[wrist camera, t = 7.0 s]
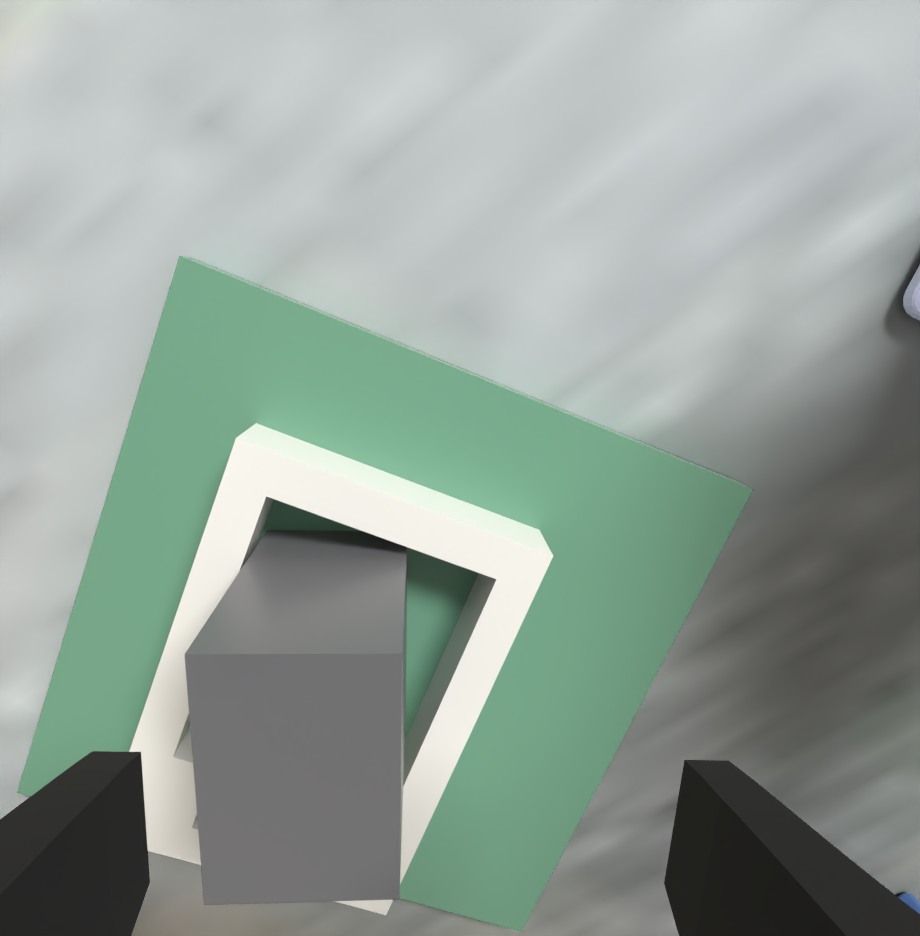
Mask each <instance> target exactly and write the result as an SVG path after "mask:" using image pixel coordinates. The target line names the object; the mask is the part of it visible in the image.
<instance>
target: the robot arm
mask: <svg viewBox="0 0 920 936" xmlns="http://www.w3.org/2000/svg"><path fill="white" fill-rule="evenodd" d="M903 306H904V309H905V311H906V313H907V314H909V315H910V316H911V317H913V318H915V319H917V320H919V321H920V265H919V267H918V269H917V271H916V273H915V274H914V276H913V278H912V280H911V282H910V284H909V285H908V287H907V289H906V291H905V294H904V297H903ZM149 883H150V879H149V864H148V849H147V834H146V819H145V805H144V790H143V775H142V760H141V752H110V751H92V752H91V753H89V754H88V755H86V756H85V757H83V758H82V759H81V760H79V761H78V762H76V763H75V764H74V765H72V766H71V767H69V768H68V769H67V770H65V771H64V772H63V773H61V774H60V775H59V776H57V777H56V778H55V779H53V780H52V781H51V782H49V783H48V784H47V785H45V786H44V787H43V788H41V789H40V790H39V791H37V792H36V793H35V794H33V795H32V796H31V797H30V798H28V799H27V800H26V801H24V802H23V803H22V804H20V805H19V806H18V807H16V808H15V809H14V810H12V811H11V812H10V813H8V814H7V815H6V816H4V817H3V818H2V819H0V936H131V934H132V931H133V929H134V926H135V923H136V920H137V917H138V914H139V911H140V908H141V906H142V903H143V900H144V897H145V894H146V891H147V888H148V886H149ZM664 884H665V888H666V891H667V895H668V898H669V902H670V905H671V909H672V912H673V916H674V919H675V923H676V926H677V930H678V933H679V936H920V914H919V913H917V912H916V911H915V910H914V909H912V908H911V907H910V906H908V905H907V904H906V903H905V902H903V901H902V900H901V899H899V898H898V897H897V896H895V895H894V894H893V893H892V892H890V891H889V890H888V889H887V888H885V887H884V886H883V885H882V884H880V883H879V882H878V881H876V880H875V879H874V878H873V877H871V876H870V875H869V874H868V873H866V872H865V871H864V870H863V869H861V868H860V867H859V866H858V865H857V864H855V863H854V862H853V861H852V860H850V859H849V858H848V857H847V856H845V855H844V854H843V853H842V852H840V851H839V850H838V849H837V848H836V847H834V846H833V845H832V844H831V843H829V842H828V841H827V840H826V839H825V838H823V837H822V836H821V835H820V834H818V833H817V832H816V831H815V830H814V829H812V828H811V827H810V826H809V825H808V824H806V823H805V822H804V821H803V820H801V819H800V818H799V817H798V816H797V815H795V814H794V813H793V812H792V811H791V810H789V809H788V808H787V807H786V806H785V805H783V804H782V803H781V802H780V801H778V800H777V799H776V798H775V797H774V796H772V795H771V794H770V793H769V792H767V791H766V790H765V789H764V788H763V787H761V786H760V785H759V784H758V783H756V782H755V781H754V780H753V779H751V778H750V777H749V776H748V775H746V774H745V773H744V772H742V771H741V770H740V769H738V768H737V767H736V766H735V765H733V764H732V763H731V762H729V761H709V760H685V761H684V767H683V773H682V779H681V785H680V791H679V797H678V803H677V809H676V815H675V821H674V827H673V833H672V839H671V845H670V852H669V858H668V864H667V870H666V876H665V882H664Z"/></svg>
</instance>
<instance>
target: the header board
mask: <svg viewBox="0 0 920 936" xmlns="http://www.w3.org/2000/svg"><path fill="white" fill-rule="evenodd" d="M752 491H753V489H751V488H749V487H747V486H745V485H744V484H742V483H740V482H738V481H736V480H733V479H731V478H728V477H726V476H723V475H721V474H719V473H716V472H714V471H711V470H709V469H706V468H704V467H701V466H699V465H696V464H694V463H692V462H689V461H687V460H684V459H682V458H679V457H677V456H674V455H672V454H670V453H667V452H665V451H662V450H660V449H657V448H655V447H652V446H650V445H648V444H645V443H643V442H640V441H638V440H635V439H633V438H630V437H628V436H626V435H623V434H621V433H618V432H616V431H613V430H611V429H608V428H606V427H604V426H601V425H599V424H596V423H594V422H591V421H589V420H586V419H584V418H582V417H579V416H577V415H574V414H572V413H569V412H567V411H564V410H562V409H559V408H557V407H555V406H552V405H550V404H547V403H545V402H542V401H540V400H537V399H535V398H533V397H530V396H528V395H525V394H523V393H520V392H518V391H515V390H513V389H511V388H508V387H506V386H503V385H501V384H498V383H496V382H493V381H491V380H489V379H486V378H484V377H481V376H479V375H476V374H474V373H471V372H469V371H467V370H464V369H462V368H459V367H457V366H454V365H452V364H449V363H447V362H445V361H442V360H440V359H437V358H435V357H432V356H430V355H427V354H425V353H422V352H420V351H418V350H415V349H413V348H410V347H408V346H405V345H403V344H400V343H398V342H396V341H393V340H391V339H388V338H386V337H383V336H381V335H378V334H376V333H374V332H371V331H369V330H366V329H364V328H361V327H359V326H356V325H354V324H352V323H349V322H347V321H344V320H342V319H339V318H337V317H334V316H332V315H330V314H327V313H325V312H322V311H320V310H317V309H315V308H312V307H310V306H307V305H305V304H303V303H300V302H298V301H295V300H293V299H290V298H288V297H285V296H283V295H281V294H278V293H276V292H273V291H271V290H268V289H266V288H263V287H261V286H259V285H256V284H254V283H251V282H249V281H246V280H244V279H241V278H239V277H237V276H234V275H232V274H229V273H227V272H224V271H222V270H219V269H217V268H215V267H212V266H210V265H207V264H205V263H202V262H200V261H197V260H195V259H193V258H189V257H183V256H179V259H178V263H177V266H176V269H175V273H174V276H173V279H172V282H171V286H170V289H169V292H168V296H167V299H166V302H165V306H164V309H163V312H162V316H161V319H160V322H159V325H158V329H157V332H156V335H155V339H154V342H153V345H152V349H151V352H150V355H149V358H148V362H147V365H146V368H145V372H144V375H143V378H142V382H141V385H140V388H139V391H138V395H137V398H136V401H135V405H134V408H133V411H132V415H131V418H130V421H129V424H128V428H127V431H126V434H125V438H124V441H123V444H122V448H121V451H120V454H119V458H118V461H117V464H116V467H115V471H114V474H113V477H112V481H111V484H110V487H109V491H108V494H107V497H106V500H105V504H104V507H103V510H102V514H101V517H100V520H99V524H98V527H97V530H96V533H95V537H94V540H93V543H92V547H91V550H90V553H89V557H88V560H87V563H86V567H85V570H84V573H83V576H82V580H81V583H80V586H79V590H78V593H77V596H76V600H75V603H74V606H73V609H72V613H71V616H70V619H69V623H68V626H67V629H66V633H65V636H64V639H63V642H62V646H61V649H60V652H59V656H58V659H57V662H56V666H55V669H54V672H53V675H52V679H51V682H50V685H49V689H48V692H47V695H46V699H45V702H44V705H43V709H42V712H41V715H40V718H39V722H38V725H37V728H36V732H35V735H34V738H33V742H32V745H31V748H30V751H29V755H28V758H27V761H26V765H25V768H24V771H23V775H22V778H21V781H20V784H19V788H18V791H17V793H20V794H23V795H27V796H30V797H31V796H32V795H33V794H35V793H36V792H37V791H39V790H40V789H41V788H43V787H44V786H45V785H47V784H48V783H49V782H51V781H52V780H53V779H55V778H56V777H57V776H59V775H60V774H61V773H63V772H64V771H65V770H67V769H68V768H69V767H71V766H72V765H74V764H75V763H76V762H78V761H79V760H81V759H82V758H83V757H85V756H86V755H88V754H89V753H91V752H92V751H110V752H141V760H142V775H143V790H144V805H145V819H146V834H147V849H148V851H150V852H154V853H158V854H162V855H165V856H169V857H173V858H176V859H180V860H184V861H187V862H191V863H195V864H198V865H201V858H200V845H199V833H198V820H197V807H196V794H195V782H194V769H193V756H192V744H191V731H190V718H189V705H188V693H187V680H186V667H185V653H186V651H187V650H188V648H189V647H190V645H191V644H192V642H193V641H194V639H195V638H196V636H197V635H198V633H199V632H200V630H201V629H202V627H203V626H204V624H205V623H206V621H207V620H208V618H209V617H210V615H211V614H212V612H213V611H214V609H215V608H216V606H217V605H218V603H219V602H220V600H221V599H222V597H223V596H224V594H225V593H226V591H227V590H228V588H229V587H230V585H231V584H232V582H233V581H234V579H235V578H236V576H237V575H238V573H239V572H240V570H241V569H242V567H243V566H244V564H245V563H246V561H247V560H248V558H249V557H250V555H251V554H252V552H253V551H254V549H255V548H256V546H257V545H258V543H259V542H260V540H261V539H262V537H263V536H264V534H265V533H266V531H267V530H307V531H364V532H367V533H369V534H372V535H375V536H378V537H380V538H383V539H386V540H389V541H392V542H394V543H397V544H400V545H403V546H405V547H407V631H406V709H405V741H404V773H403V805H402V837H401V869H400V899H404V900H408V901H411V902H415V903H419V904H422V905H426V906H429V907H433V908H437V909H440V910H444V911H448V912H451V913H455V914H459V915H462V916H466V917H469V918H473V919H477V920H480V921H484V922H488V923H491V924H495V925H498V926H502V927H506V928H509V929H513V930H517V931H520V932H522V930H523V928H524V926H525V924H526V922H527V920H528V918H529V916H530V915H531V913H532V911H533V909H534V907H535V905H536V903H537V901H538V899H539V897H540V895H541V894H542V892H543V890H544V888H545V886H546V884H547V882H548V880H549V878H550V876H551V874H552V873H553V871H554V869H555V867H556V865H557V863H558V861H559V859H560V857H561V855H562V854H563V852H564V850H565V848H566V846H567V844H568V842H569V840H570V838H571V836H572V834H573V833H574V831H575V829H576V827H577V825H578V823H579V821H580V819H581V817H582V815H583V813H584V812H585V810H586V808H587V806H588V804H589V802H590V800H591V798H592V796H593V794H594V792H595V791H596V789H597V787H598V785H599V783H600V781H601V779H602V777H603V775H604V773H605V771H606V770H607V768H608V766H609V764H610V762H611V760H612V758H613V756H614V754H615V752H616V750H617V749H618V747H619V745H620V743H621V741H622V739H623V737H624V735H625V733H626V731H627V729H628V728H629V726H630V724H631V722H632V720H633V718H634V716H635V714H636V712H637V710H638V708H639V707H640V705H641V703H642V701H643V699H644V697H645V695H646V693H647V691H648V689H649V687H650V686H651V684H652V682H653V680H654V678H655V676H656V674H657V672H658V670H659V668H660V667H661V665H662V663H663V661H664V659H665V657H666V655H667V653H668V651H669V649H670V647H671V646H672V644H673V642H674V640H675V638H676V636H677V634H678V632H679V630H680V628H681V626H682V625H683V623H684V621H685V619H686V617H687V615H688V613H689V611H690V609H691V607H692V605H693V604H694V602H695V600H696V598H697V596H698V594H699V592H700V590H701V588H702V586H703V584H704V583H705V581H706V579H707V577H708V575H709V573H710V571H711V569H712V567H713V565H714V563H715V562H716V560H717V558H718V556H719V554H720V552H721V550H722V548H723V546H724V544H725V542H726V541H727V539H728V537H729V535H730V533H731V531H732V529H733V527H734V525H735V523H736V521H737V520H738V518H739V516H740V514H741V512H742V510H743V508H744V506H745V504H746V502H747V500H748V499H749V497H750V495H751V493H752ZM392 901H393V900H362V901H335V902H339V903H343V904H346V905H350V906H354V907H357V908H361V909H365V910H368V911H372V912H376V913H379V914H383V915H386V914H387V912H388V910H389V908H390V905H391V903H392Z"/></svg>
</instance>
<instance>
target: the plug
mask: <svg viewBox="0 0 920 936" xmlns="http://www.w3.org/2000/svg"><path fill="white" fill-rule="evenodd" d="M406 631H407V547H405V546H403V545H400V544H397V543H394V542H392V541H389V540H386V539H383V538H380V537H378V536H375V535H372V534H369V533H367V532H364V531H307V530H267V531H266V533H265V534H264V536H263V537H262V539H261V540H260V542H259V543H258V545H257V546H256V548H255V549H254V551H253V552H252V554H251V555H250V557H249V558H248V560H247V561H246V563H245V564H244V566H243V567H242V569H241V570H240V572H239V573H238V575H237V576H236V578H235V579H234V581H233V582H232V584H231V585H230V587H229V588H228V590H227V591H226V593H225V594H224V596H223V597H222V599H221V600H220V602H219V603H218V605H217V606H216V608H215V609H214V611H213V612H212V614H211V615H210V617H209V618H208V620H207V621H206V623H205V624H204V626H203V627H202V629H201V630H200V632H199V633H198V635H197V636H196V638H195V639H194V641H193V642H192V644H191V645H190V647H189V648H188V650H187V651H186V653H185V667H186V680H187V693H188V705H189V718H190V731H191V744H192V756H193V769H194V782H195V794H196V807H197V820H198V833H199V845H200V858H201V871H202V884H203V896H204V905H225V904H259V903H294V902H328V901H362V900H396V899H400V869H401V837H402V805H403V773H404V741H405V709H406Z"/></svg>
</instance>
